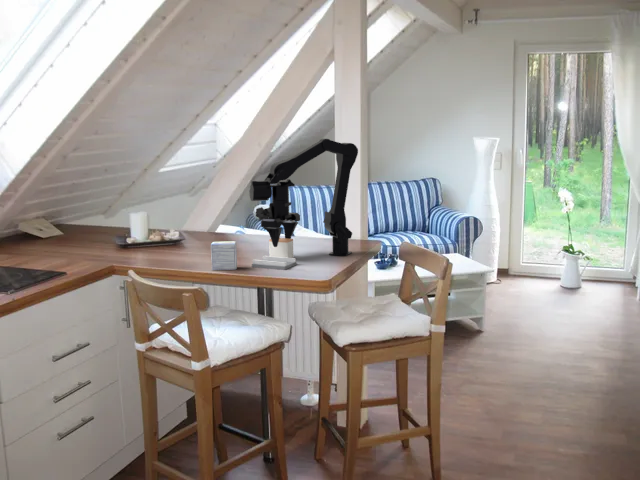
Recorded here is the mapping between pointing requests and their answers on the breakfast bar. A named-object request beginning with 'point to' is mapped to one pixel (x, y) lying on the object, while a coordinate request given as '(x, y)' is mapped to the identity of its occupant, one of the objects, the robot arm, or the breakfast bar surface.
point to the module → (281, 248)
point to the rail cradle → (275, 262)
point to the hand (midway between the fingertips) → (281, 244)
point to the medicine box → (224, 255)
